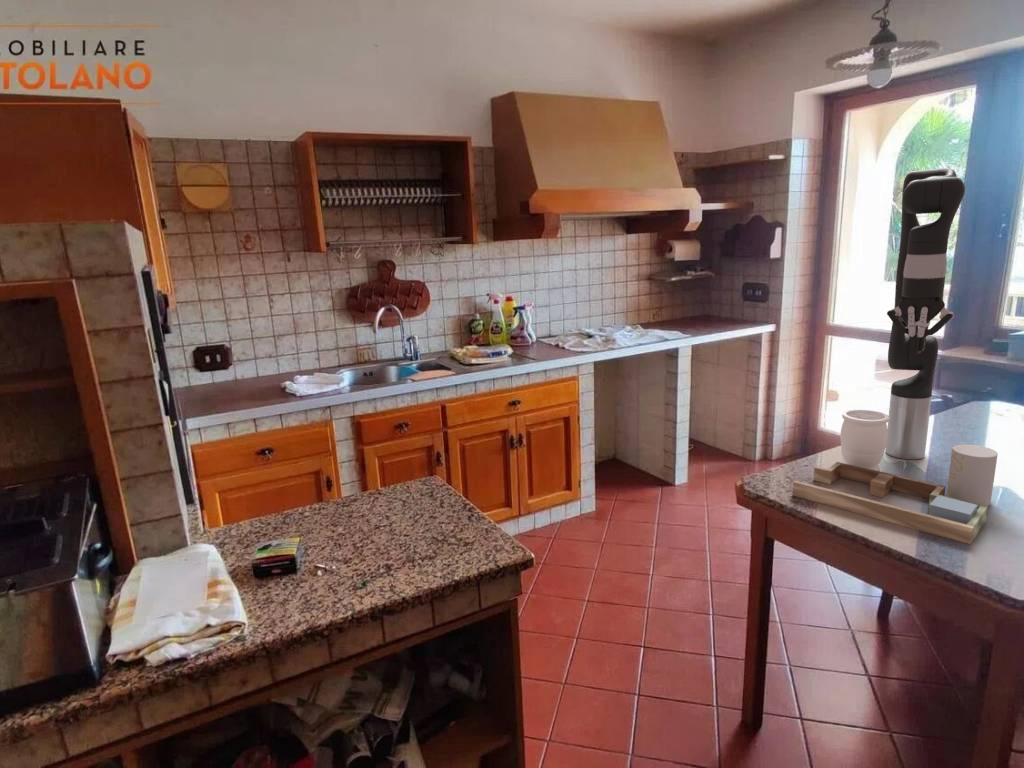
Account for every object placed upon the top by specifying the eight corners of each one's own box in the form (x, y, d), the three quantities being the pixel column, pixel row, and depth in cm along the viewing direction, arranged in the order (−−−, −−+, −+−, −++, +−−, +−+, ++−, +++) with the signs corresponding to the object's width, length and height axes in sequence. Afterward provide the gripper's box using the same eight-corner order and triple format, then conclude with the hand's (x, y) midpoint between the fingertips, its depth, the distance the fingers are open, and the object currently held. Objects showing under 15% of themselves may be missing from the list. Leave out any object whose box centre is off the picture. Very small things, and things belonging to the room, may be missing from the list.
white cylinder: (947, 489, 142) (953, 442, 139) (991, 496, 137) (998, 448, 134) (944, 501, 136) (951, 453, 133) (990, 510, 131) (997, 459, 128)
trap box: (825, 471, 156) (825, 459, 155) (992, 511, 130) (994, 496, 130) (792, 495, 144) (793, 482, 143) (970, 544, 118) (972, 528, 117)
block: (935, 516, 130) (938, 495, 129) (974, 526, 125) (977, 504, 124) (927, 525, 127) (929, 504, 125) (967, 536, 121) (970, 514, 120)
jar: (877, 462, 160) (882, 409, 157) (890, 477, 151) (895, 421, 147) (834, 460, 163) (837, 408, 159) (843, 475, 153) (847, 420, 150)
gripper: (966, 273, 126) (956, 352, 130) (895, 272, 136) (888, 346, 140) (956, 277, 121) (946, 359, 126) (884, 276, 131) (877, 352, 135)
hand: (915, 352), depth 133 cm, fingers closed
